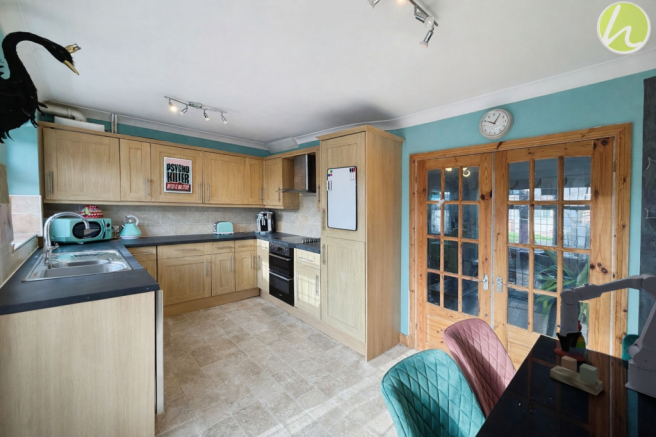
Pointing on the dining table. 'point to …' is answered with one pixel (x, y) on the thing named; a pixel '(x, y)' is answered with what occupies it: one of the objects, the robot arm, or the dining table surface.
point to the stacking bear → (575, 352)
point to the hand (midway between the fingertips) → (568, 349)
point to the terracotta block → (569, 363)
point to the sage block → (588, 373)
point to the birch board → (575, 380)
